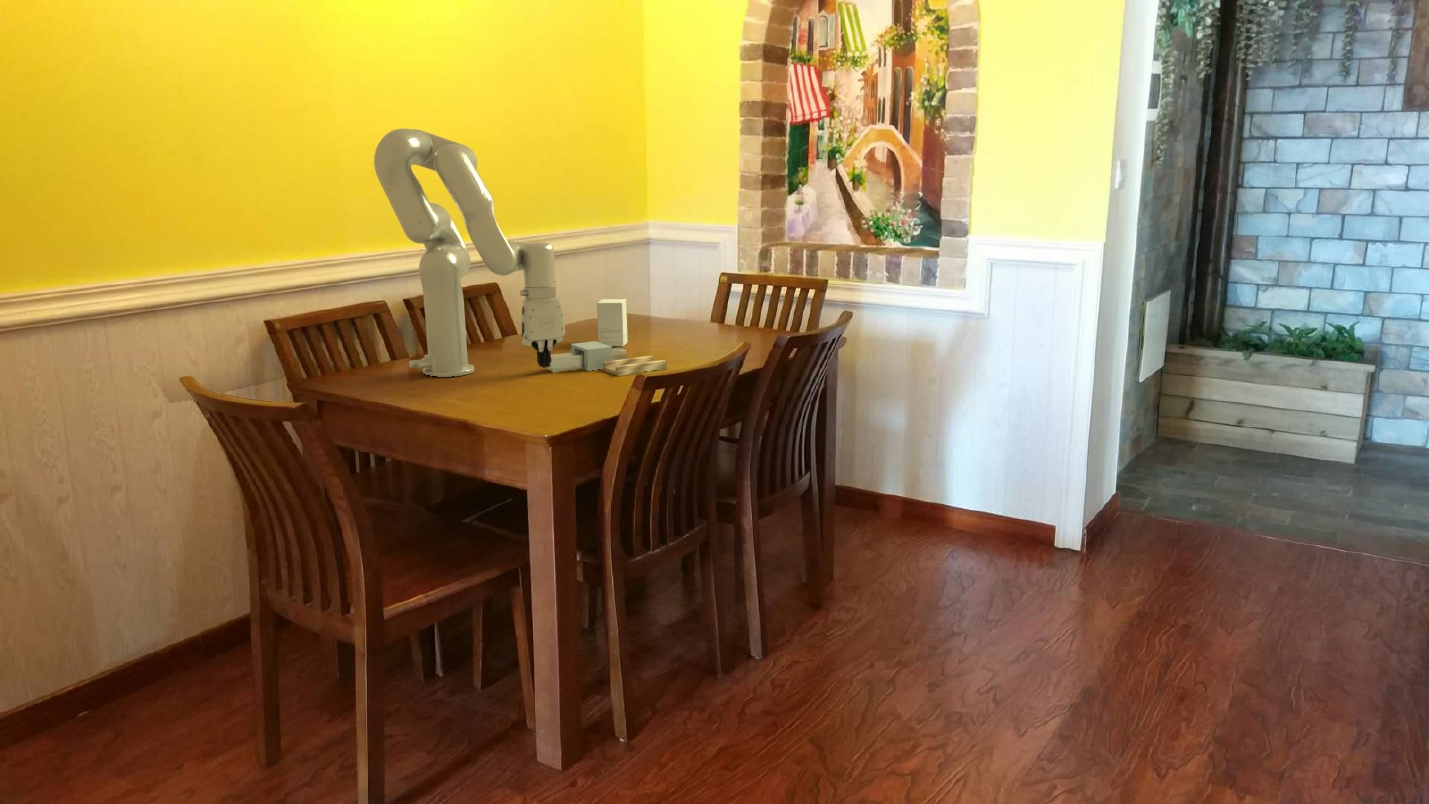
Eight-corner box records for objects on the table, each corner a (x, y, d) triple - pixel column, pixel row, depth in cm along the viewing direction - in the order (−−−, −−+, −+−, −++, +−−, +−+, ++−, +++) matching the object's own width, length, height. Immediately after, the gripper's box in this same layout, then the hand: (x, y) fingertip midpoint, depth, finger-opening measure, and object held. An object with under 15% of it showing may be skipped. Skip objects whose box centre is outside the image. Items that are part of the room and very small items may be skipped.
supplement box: (628, 342, 300) (627, 298, 297) (623, 347, 293) (622, 302, 290) (603, 341, 301) (601, 298, 298) (597, 346, 294) (596, 302, 291)
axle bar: (552, 373, 261) (552, 357, 260) (547, 370, 264) (547, 355, 263) (626, 365, 269) (626, 350, 268) (621, 362, 273) (620, 347, 272)
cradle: (618, 376, 256) (617, 367, 255) (602, 370, 262) (602, 361, 262) (666, 369, 263) (666, 360, 263) (650, 363, 270) (650, 355, 269)
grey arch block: (588, 371, 262) (587, 349, 260) (571, 364, 269) (570, 344, 268) (612, 367, 265) (612, 346, 264) (595, 361, 273) (595, 341, 272)
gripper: (518, 297, 248) (522, 372, 253) (574, 292, 256) (578, 365, 260) (506, 294, 254) (510, 367, 259) (561, 289, 262) (565, 360, 267)
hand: (544, 366), depth 260 cm, fingers closed
